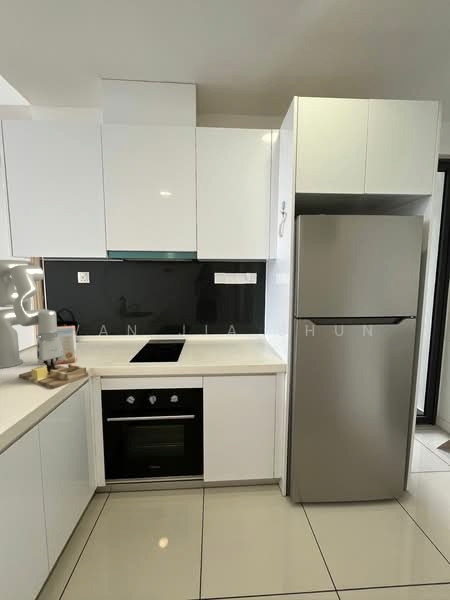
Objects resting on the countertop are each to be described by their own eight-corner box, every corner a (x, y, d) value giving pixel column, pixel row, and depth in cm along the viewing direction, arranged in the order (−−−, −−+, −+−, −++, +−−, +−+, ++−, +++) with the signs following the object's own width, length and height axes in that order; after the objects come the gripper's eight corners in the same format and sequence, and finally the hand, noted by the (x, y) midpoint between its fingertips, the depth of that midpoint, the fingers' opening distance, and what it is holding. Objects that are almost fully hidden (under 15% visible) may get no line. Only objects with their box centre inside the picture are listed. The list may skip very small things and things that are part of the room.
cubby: (50, 375, 130) (49, 370, 130) (70, 369, 139) (70, 363, 139) (66, 380, 124) (66, 374, 124) (86, 373, 133) (86, 367, 133)
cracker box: (77, 359, 160) (75, 325, 159) (75, 362, 155) (73, 327, 153) (50, 362, 156) (48, 326, 154) (47, 365, 150) (44, 328, 148)
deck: (19, 377, 132) (18, 374, 132) (54, 367, 147) (54, 364, 147) (53, 388, 119) (53, 385, 119) (88, 376, 134) (88, 373, 134)
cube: (32, 378, 127) (31, 369, 127) (42, 375, 131) (41, 366, 131) (37, 379, 125) (36, 370, 125) (47, 376, 129) (46, 367, 129)
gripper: (35, 339, 123) (38, 378, 125) (68, 333, 136) (70, 368, 138) (27, 338, 127) (30, 375, 128) (59, 332, 140) (61, 366, 142)
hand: (51, 371), depth 133 cm, fingers closed
